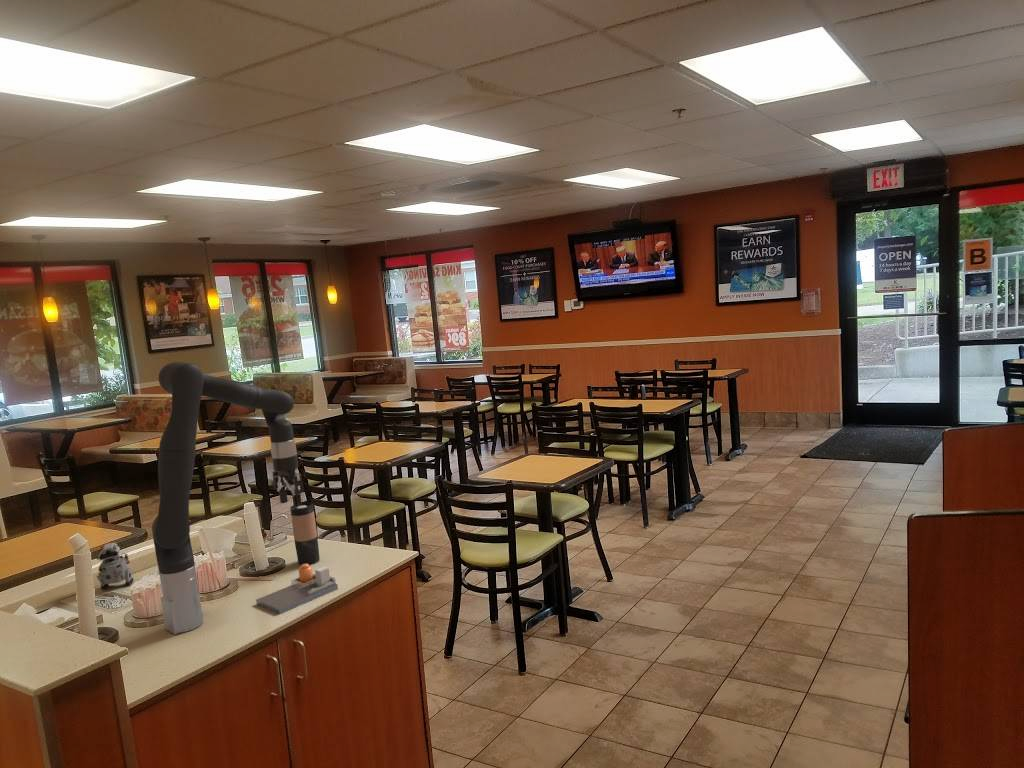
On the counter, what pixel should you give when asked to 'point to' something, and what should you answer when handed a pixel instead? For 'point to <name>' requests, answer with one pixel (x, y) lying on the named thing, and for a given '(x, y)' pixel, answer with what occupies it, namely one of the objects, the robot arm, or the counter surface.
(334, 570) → the counter surface
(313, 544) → the travel mug
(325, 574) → the block
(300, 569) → the cap
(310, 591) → the panel
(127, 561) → the figurine
